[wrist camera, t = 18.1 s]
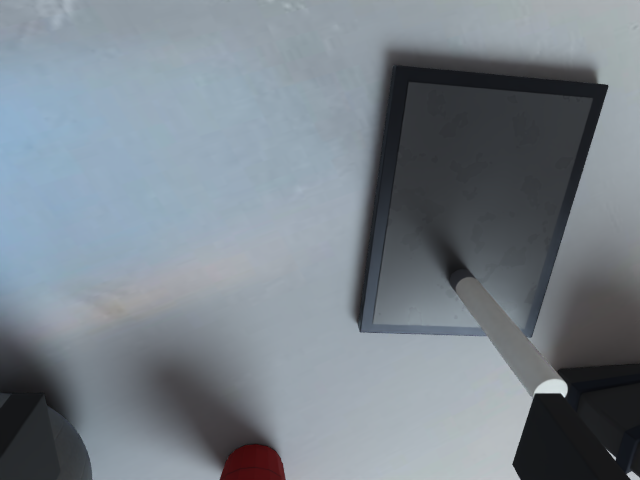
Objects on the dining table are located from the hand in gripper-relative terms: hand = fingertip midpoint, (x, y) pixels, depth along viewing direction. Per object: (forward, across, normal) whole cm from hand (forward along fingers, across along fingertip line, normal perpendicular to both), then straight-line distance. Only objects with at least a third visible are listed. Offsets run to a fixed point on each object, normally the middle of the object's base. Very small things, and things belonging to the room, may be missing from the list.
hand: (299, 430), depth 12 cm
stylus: (+24, +15, -7) cm, 29 cm away
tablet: (+25, +15, -2) cm, 29 cm away
